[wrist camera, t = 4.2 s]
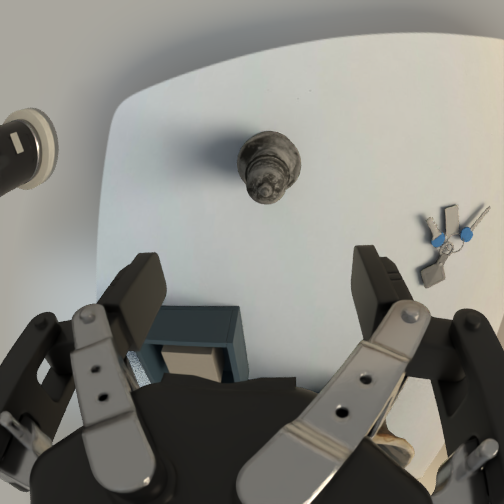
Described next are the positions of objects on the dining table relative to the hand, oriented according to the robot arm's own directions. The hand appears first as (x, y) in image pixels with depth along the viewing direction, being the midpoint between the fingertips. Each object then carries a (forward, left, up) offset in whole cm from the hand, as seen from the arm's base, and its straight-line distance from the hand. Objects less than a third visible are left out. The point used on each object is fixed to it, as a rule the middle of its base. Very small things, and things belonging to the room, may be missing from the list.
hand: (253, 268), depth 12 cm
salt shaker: (0, 0, -21) cm, 21 cm away
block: (-12, -26, -20) cm, 35 cm away
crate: (-12, -26, -21) cm, 36 cm away
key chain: (+21, -10, -21) cm, 32 cm away
